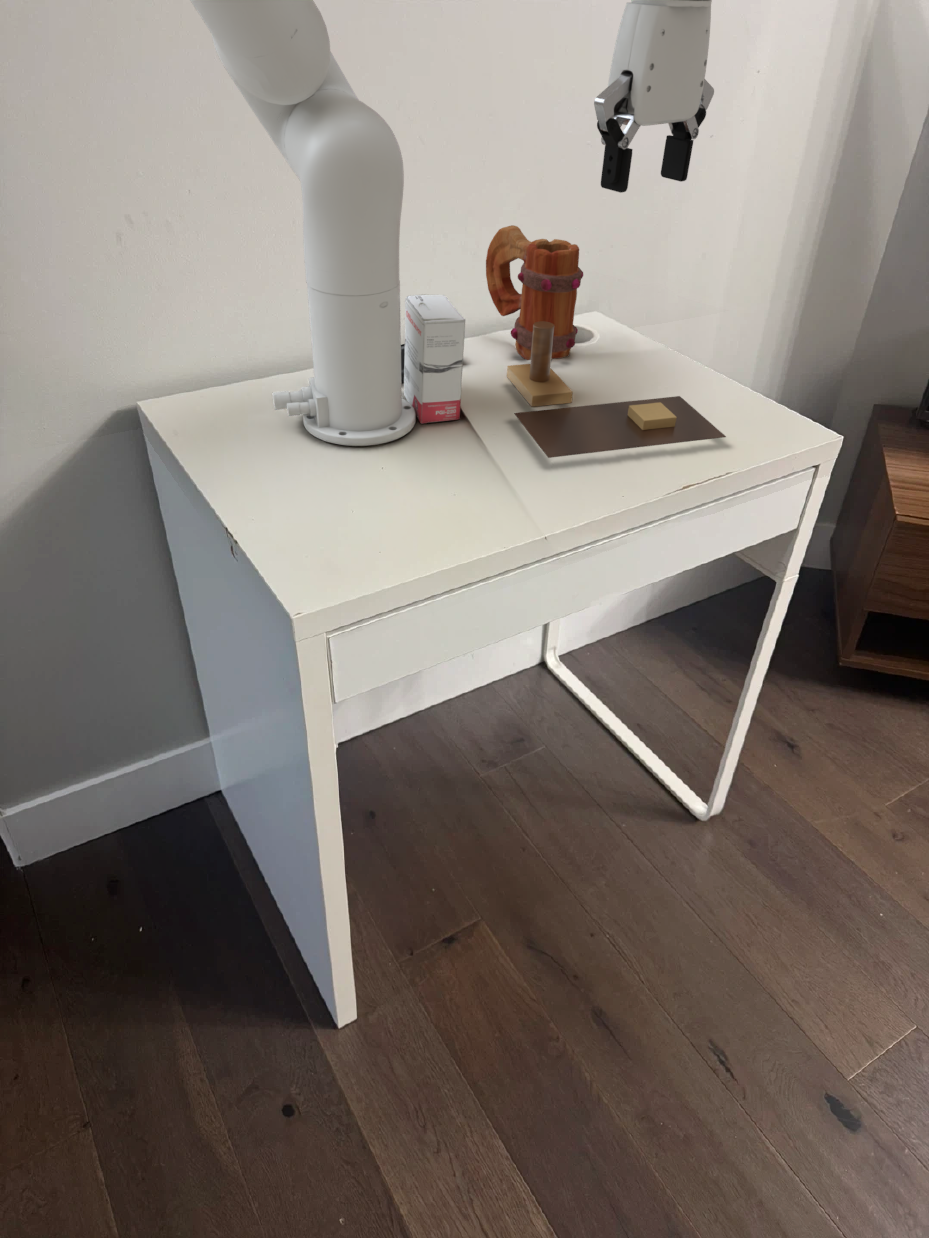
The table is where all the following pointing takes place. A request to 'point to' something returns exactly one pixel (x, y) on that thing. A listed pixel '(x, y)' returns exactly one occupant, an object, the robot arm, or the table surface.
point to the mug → (535, 287)
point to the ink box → (433, 357)
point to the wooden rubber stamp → (540, 372)
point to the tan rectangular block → (651, 416)
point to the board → (611, 427)
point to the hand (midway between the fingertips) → (644, 184)
